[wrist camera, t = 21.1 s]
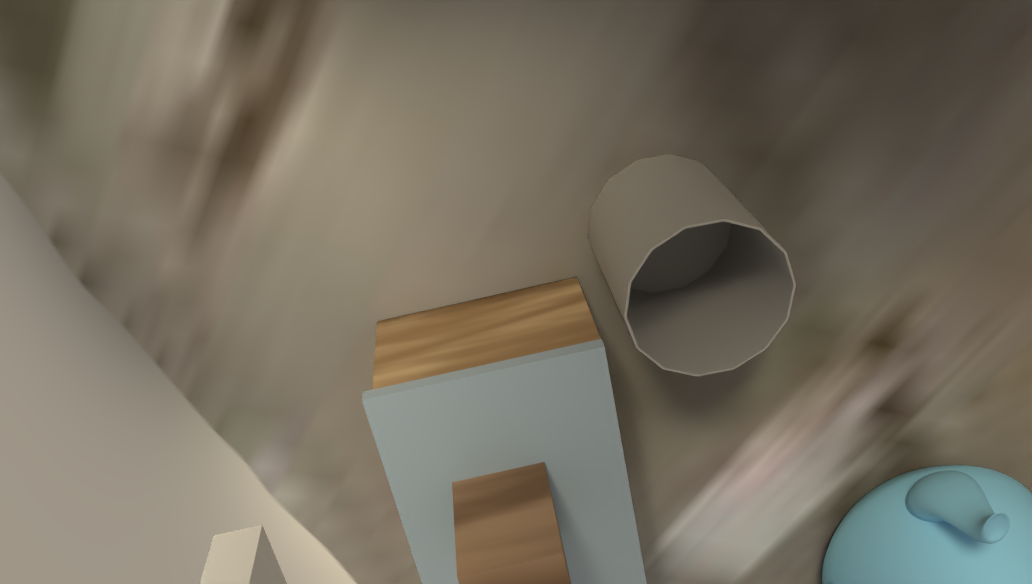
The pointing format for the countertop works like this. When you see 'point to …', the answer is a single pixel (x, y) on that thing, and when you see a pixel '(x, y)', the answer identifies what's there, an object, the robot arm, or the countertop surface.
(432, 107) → the countertop surface
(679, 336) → the cup
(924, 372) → the countertop surface
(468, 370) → the lid
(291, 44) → the countertop surface
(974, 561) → the teapot
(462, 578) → the block
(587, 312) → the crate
